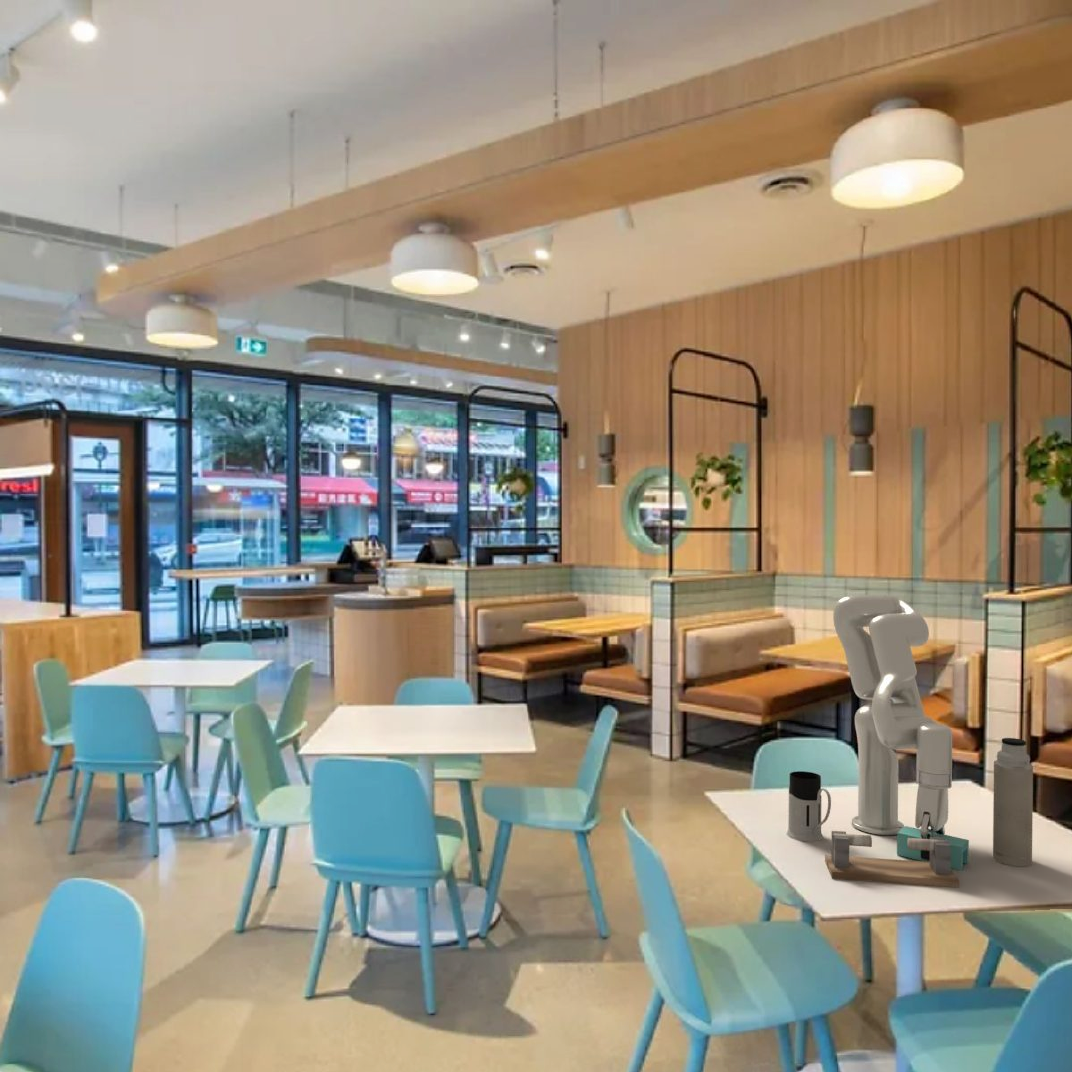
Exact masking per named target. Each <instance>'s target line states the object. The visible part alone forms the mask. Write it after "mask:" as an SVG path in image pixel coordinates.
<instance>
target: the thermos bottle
mask: <svg viewBox="0 0 1072 1072" xmlns="http://www.w3.org/2000/svg"><path fill="white" fill-rule="evenodd" d="M1026 744H1027V742H1026V741H1025V739H1020V738H1014V737H1003V738H1001V749H1000V750H999V751H997V754H996V760H994V762H993V803H992V804H993V807H992V808H993V809H992V810H993V812H992V813H993V819H992V820H993V821H992V824H993V825H992V827H993V828H992V831H993V832H992V859H994V860H995V861H997V862H999V863H1001V864H1003V865H1008V866H1013V867H1028V866H1031V865H1032V864H1033V815H1034V814H1033V812H1034V810H1033V807H1034V806H1033V801H1034V799H1033V795H1034V793H1033V792H1034V786H1033V785H1034V780H1033V779H1034V766H1033V765H1032V764H1030V761H1031V758H1030V754H1028V753H1027V752H1026Z"/></svg>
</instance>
